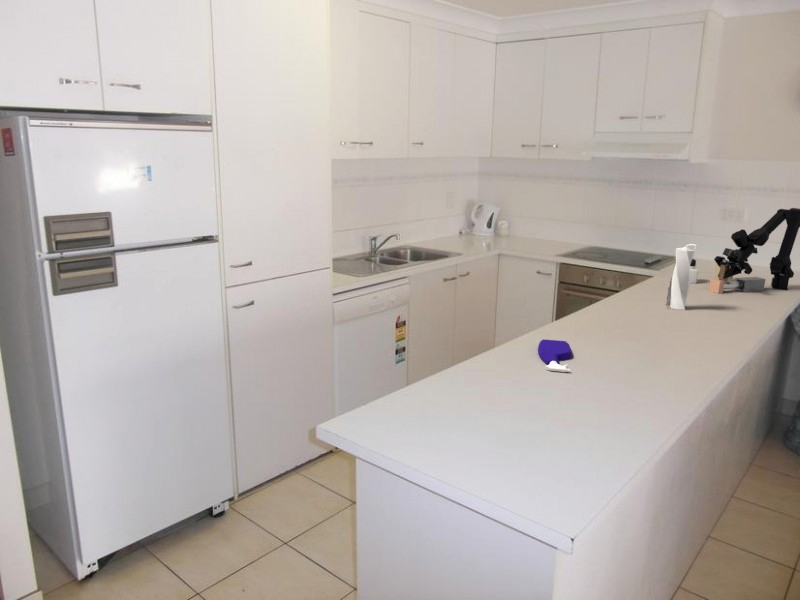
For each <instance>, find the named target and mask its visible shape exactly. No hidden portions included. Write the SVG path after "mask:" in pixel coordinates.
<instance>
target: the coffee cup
mask: <svg viewBox="0 0 800 600" xmlns="http://www.w3.org/2000/svg"><path fill="white" fill-rule="evenodd" d="M723 257H724V256H723ZM724 258H725V259H726V260H727V261H729V259H727V256H725V257H724ZM730 267H731V266H730ZM714 271H715V272H714V279H718V280H719V277H718V274H719V272H720V267H719V266H718V264H717V263H716V262H715V270H714ZM733 278H734V276H731V277H729V278H728V282H731V281H733Z"/></svg>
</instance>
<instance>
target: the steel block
mask: <svg viewBox="0 0 800 600" xmlns="http://www.w3.org/2000/svg"><path fill="white" fill-rule="evenodd" d="M735 281H745V282H744V288H739V289H734V290H735V291H739V292H743V293H752V292H764V290H765V285H766V278H762V277H758V276H745V277H744V276H743V277H736V280H735Z"/></svg>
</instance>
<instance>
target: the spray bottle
mask: <svg viewBox="0 0 800 600" xmlns="http://www.w3.org/2000/svg"><path fill="white" fill-rule="evenodd" d="M537 354H538V356H539V359H541V360H542V361H543V362H544V363H545V364H547V365H544V366H545V367H544V370H546V371H551V372H552V371H553V372H560V373H571V368H567V367H568V364H564V365H561V363H560V361H565V360H569V359H570V358H572V356H573V351H572V349H571V346H570V344H569V343H568V341H565V340H554V339H541V340H540V341H539V343H538V347H537Z"/></svg>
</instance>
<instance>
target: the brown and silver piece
mask: <svg viewBox="0 0 800 600" xmlns="http://www.w3.org/2000/svg"><path fill="white" fill-rule="evenodd" d="M729 269H730V266H729V265H721V266H720V273H719V280H722V281H725V282H724V288H723V290H735V289H739V288H744V282H745V281H736V280H735V281H733V280H732V281H731V282H728V278H726V279H723V277H724V275H725V274H726V273H727V272H728V270H729Z"/></svg>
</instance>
